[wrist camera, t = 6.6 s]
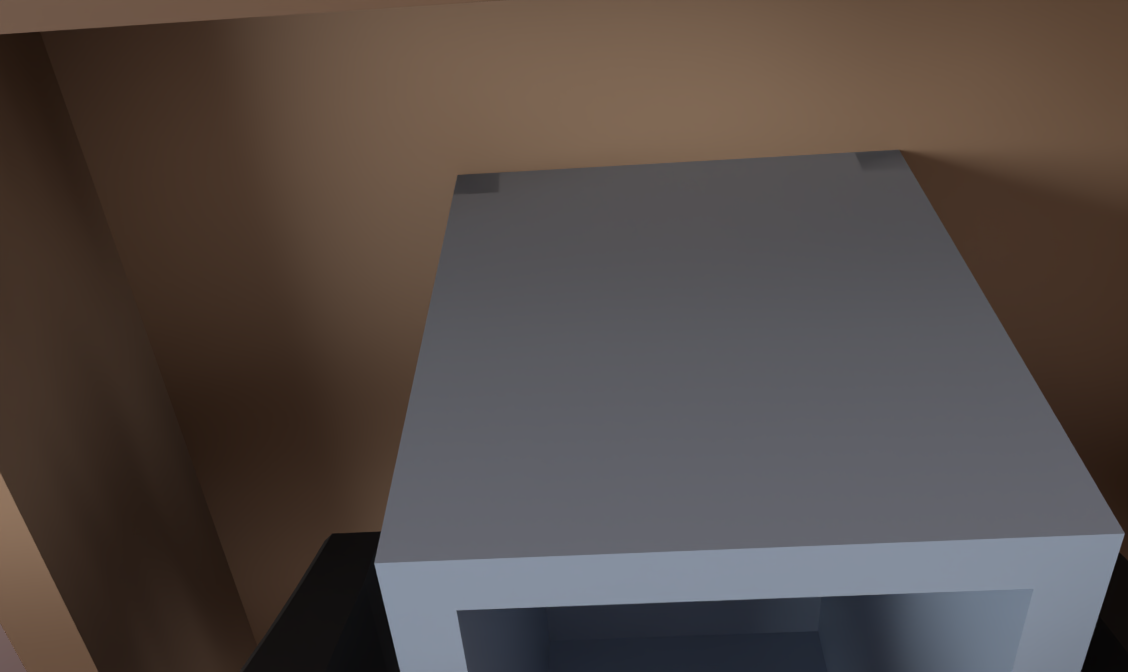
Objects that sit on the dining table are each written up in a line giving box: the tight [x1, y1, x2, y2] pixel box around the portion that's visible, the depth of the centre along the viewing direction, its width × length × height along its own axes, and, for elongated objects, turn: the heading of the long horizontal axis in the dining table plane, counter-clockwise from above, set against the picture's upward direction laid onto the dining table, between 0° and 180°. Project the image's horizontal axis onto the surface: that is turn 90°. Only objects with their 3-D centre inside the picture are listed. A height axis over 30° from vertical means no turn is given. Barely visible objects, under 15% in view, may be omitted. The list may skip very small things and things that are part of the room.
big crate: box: [0, 0, 1128, 672], centre depth 13 cm, size 16×15×4 cm
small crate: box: [374, 150, 1125, 672], centre depth 12 cm, size 8×5×6 cm, turn 4°
